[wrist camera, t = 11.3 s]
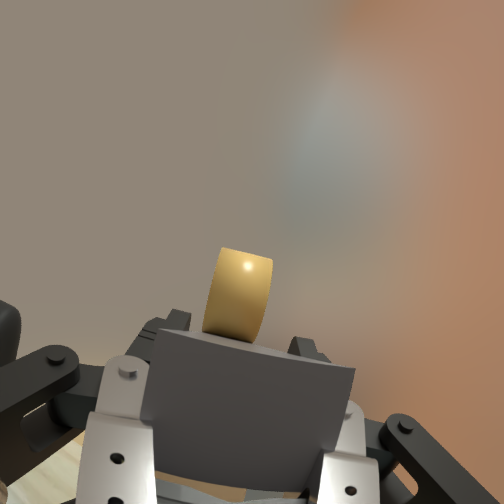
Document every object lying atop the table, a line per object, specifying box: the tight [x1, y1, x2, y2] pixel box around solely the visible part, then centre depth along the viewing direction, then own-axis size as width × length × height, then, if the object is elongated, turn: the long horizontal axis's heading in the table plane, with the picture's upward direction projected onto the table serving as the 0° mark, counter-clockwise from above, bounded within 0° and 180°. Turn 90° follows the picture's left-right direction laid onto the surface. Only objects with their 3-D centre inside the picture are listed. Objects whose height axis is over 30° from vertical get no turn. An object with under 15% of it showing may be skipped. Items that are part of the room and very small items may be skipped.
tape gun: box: [139, 247, 355, 492], centre depth 16 cm, size 22×4×10 cm, turn 7°
